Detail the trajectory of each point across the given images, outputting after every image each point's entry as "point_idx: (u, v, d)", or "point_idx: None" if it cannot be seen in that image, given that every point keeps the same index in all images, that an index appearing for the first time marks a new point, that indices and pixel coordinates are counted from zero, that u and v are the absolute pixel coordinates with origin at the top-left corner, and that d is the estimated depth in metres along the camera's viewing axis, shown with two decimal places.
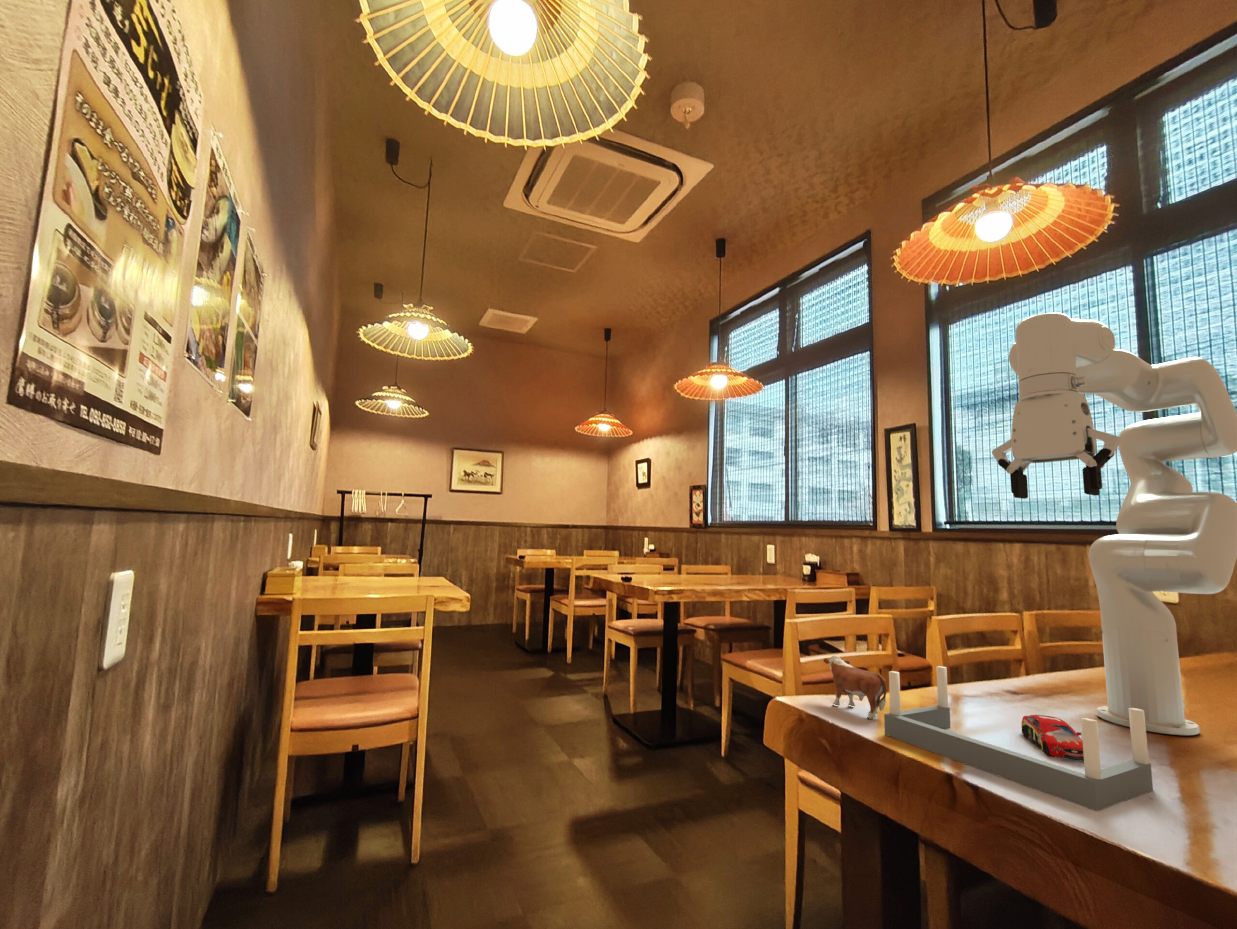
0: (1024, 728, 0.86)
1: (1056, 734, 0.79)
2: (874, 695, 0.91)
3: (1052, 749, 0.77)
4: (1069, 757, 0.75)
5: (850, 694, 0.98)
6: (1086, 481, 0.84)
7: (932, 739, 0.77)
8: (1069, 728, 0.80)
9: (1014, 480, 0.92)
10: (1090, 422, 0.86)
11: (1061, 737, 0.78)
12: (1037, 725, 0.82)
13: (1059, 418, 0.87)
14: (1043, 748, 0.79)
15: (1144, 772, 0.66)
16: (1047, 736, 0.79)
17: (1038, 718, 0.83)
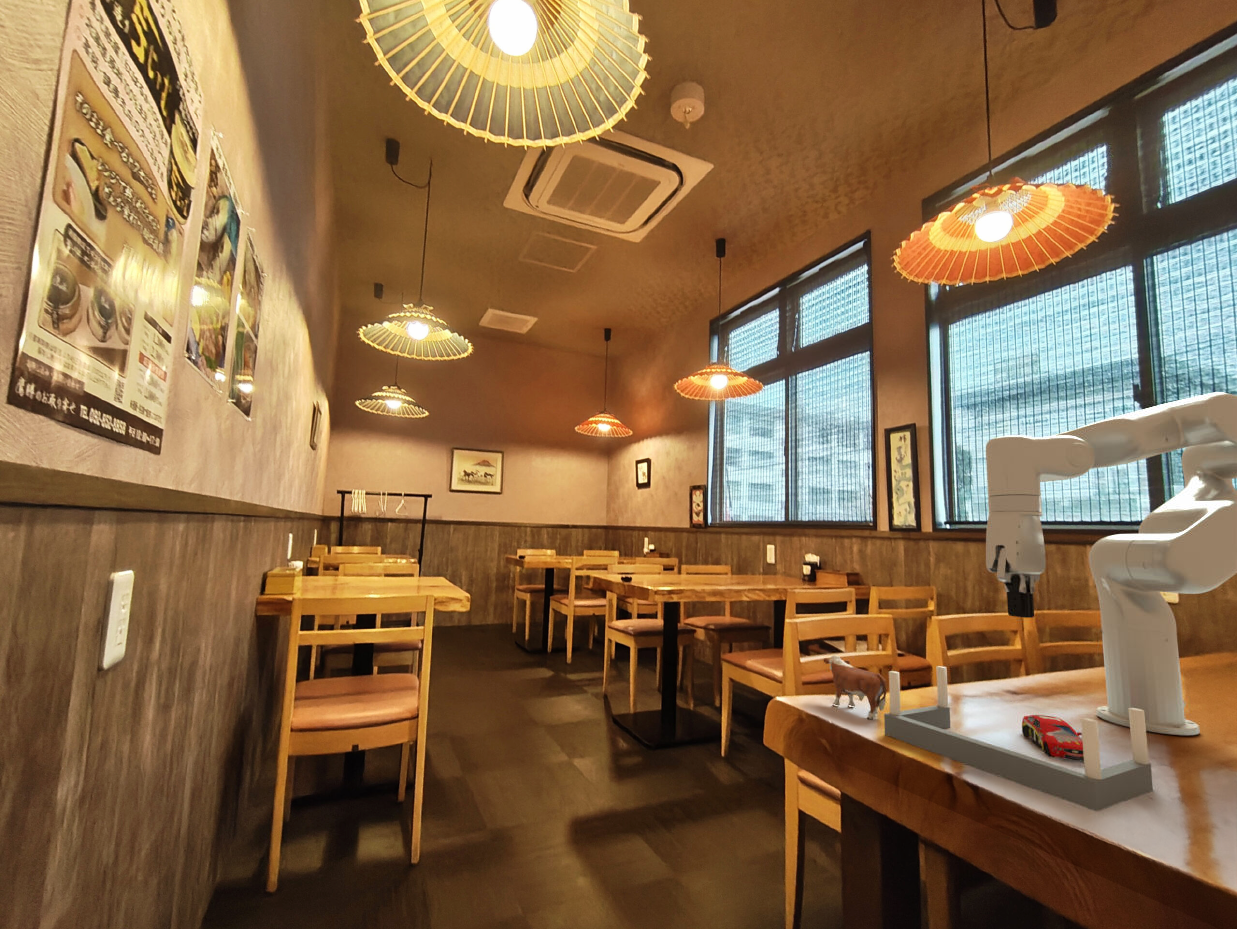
0: (1024, 728, 0.85)
1: (1056, 734, 0.79)
2: (874, 695, 0.91)
3: (1053, 749, 0.77)
4: (1070, 757, 0.75)
5: (850, 694, 0.98)
6: (1032, 606, 0.94)
7: (932, 739, 0.77)
8: (1069, 728, 0.80)
9: (1028, 600, 0.93)
10: None
11: (1062, 737, 0.78)
12: (1037, 725, 0.82)
13: (1037, 538, 0.95)
14: (1044, 748, 0.79)
15: (1144, 772, 0.66)
16: (1048, 736, 0.79)
17: (1038, 718, 0.83)
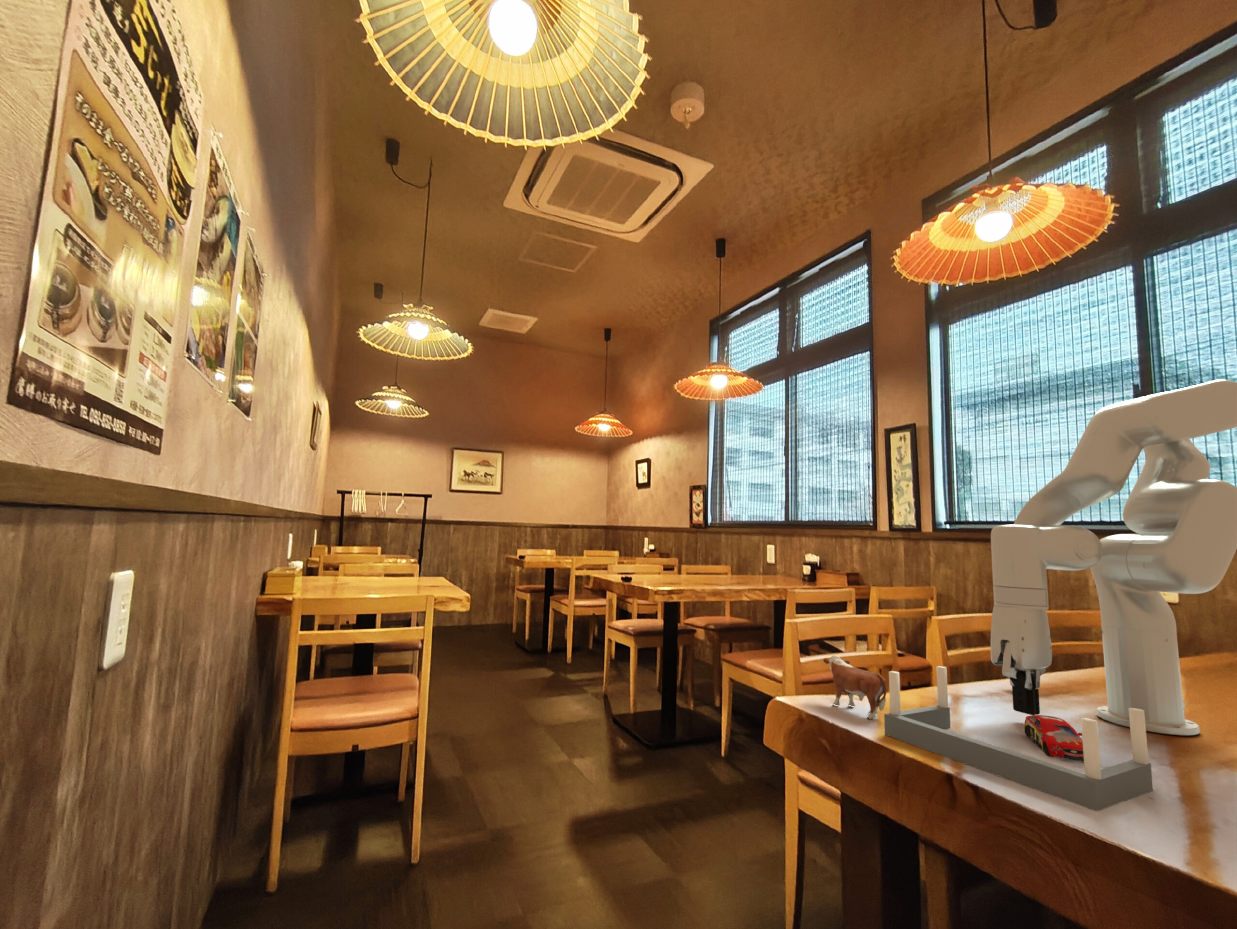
0: (1026, 728, 0.85)
1: (1056, 734, 0.79)
2: (874, 695, 0.91)
3: (1051, 749, 0.77)
4: (1068, 757, 0.75)
5: (850, 694, 0.98)
6: (1038, 702, 0.92)
7: (932, 739, 0.77)
8: (1070, 728, 0.80)
9: (1034, 697, 0.91)
10: None
11: (1061, 737, 0.78)
12: (1038, 725, 0.82)
13: (1044, 632, 0.93)
14: (1043, 748, 0.79)
15: (1144, 772, 0.66)
16: (1047, 736, 0.79)
17: (1040, 718, 0.83)
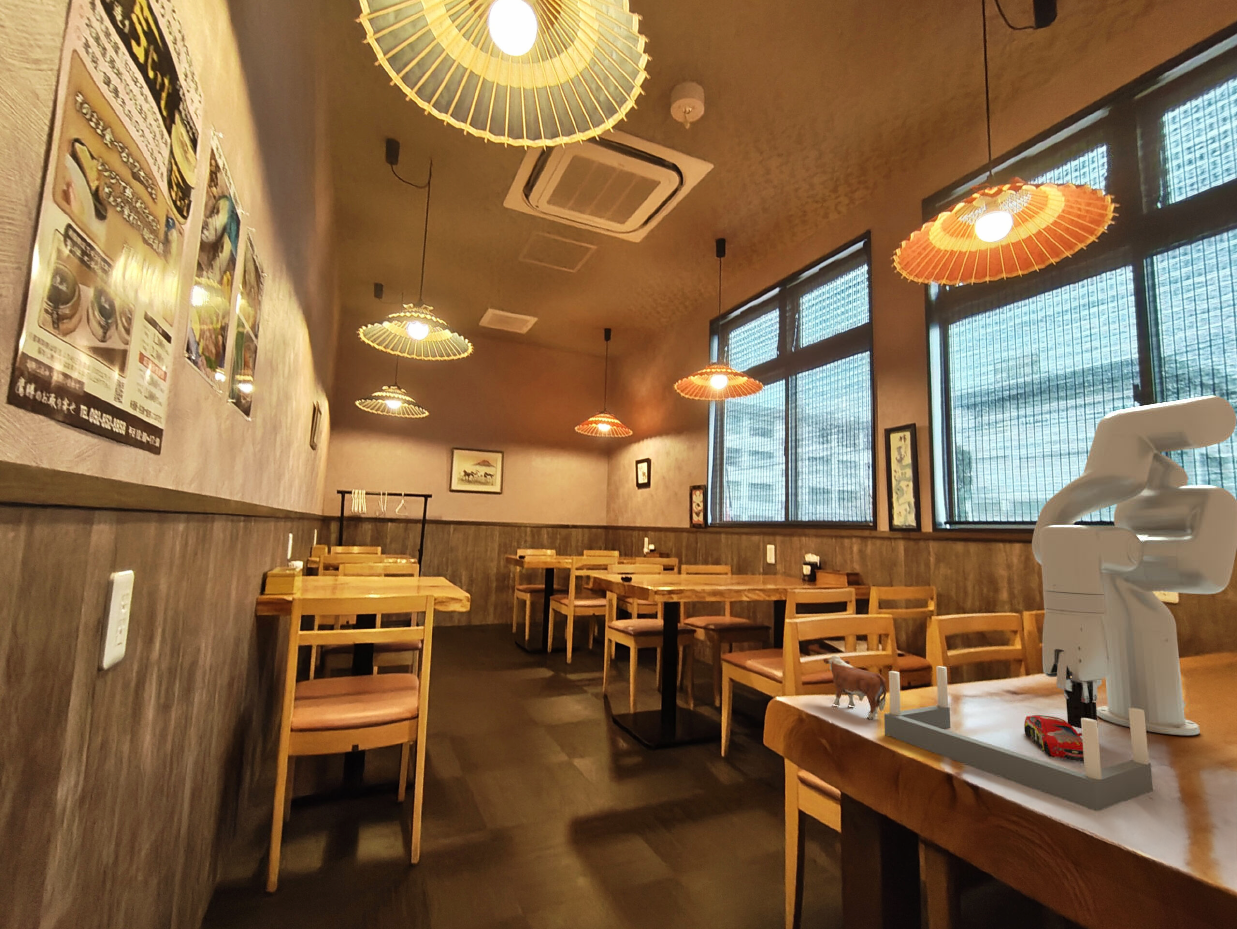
0: (1027, 728, 0.85)
1: (1057, 734, 0.79)
2: (874, 695, 0.91)
3: (1052, 749, 0.77)
4: (1069, 757, 0.75)
5: (850, 694, 0.98)
6: (1095, 717, 0.85)
7: (932, 739, 0.77)
8: (1071, 728, 0.80)
9: (1092, 711, 0.84)
10: None
11: (1062, 737, 0.78)
12: (1039, 725, 0.82)
13: None
14: (1044, 748, 0.79)
15: (1144, 772, 0.66)
16: (1048, 736, 0.79)
17: (1040, 718, 0.83)
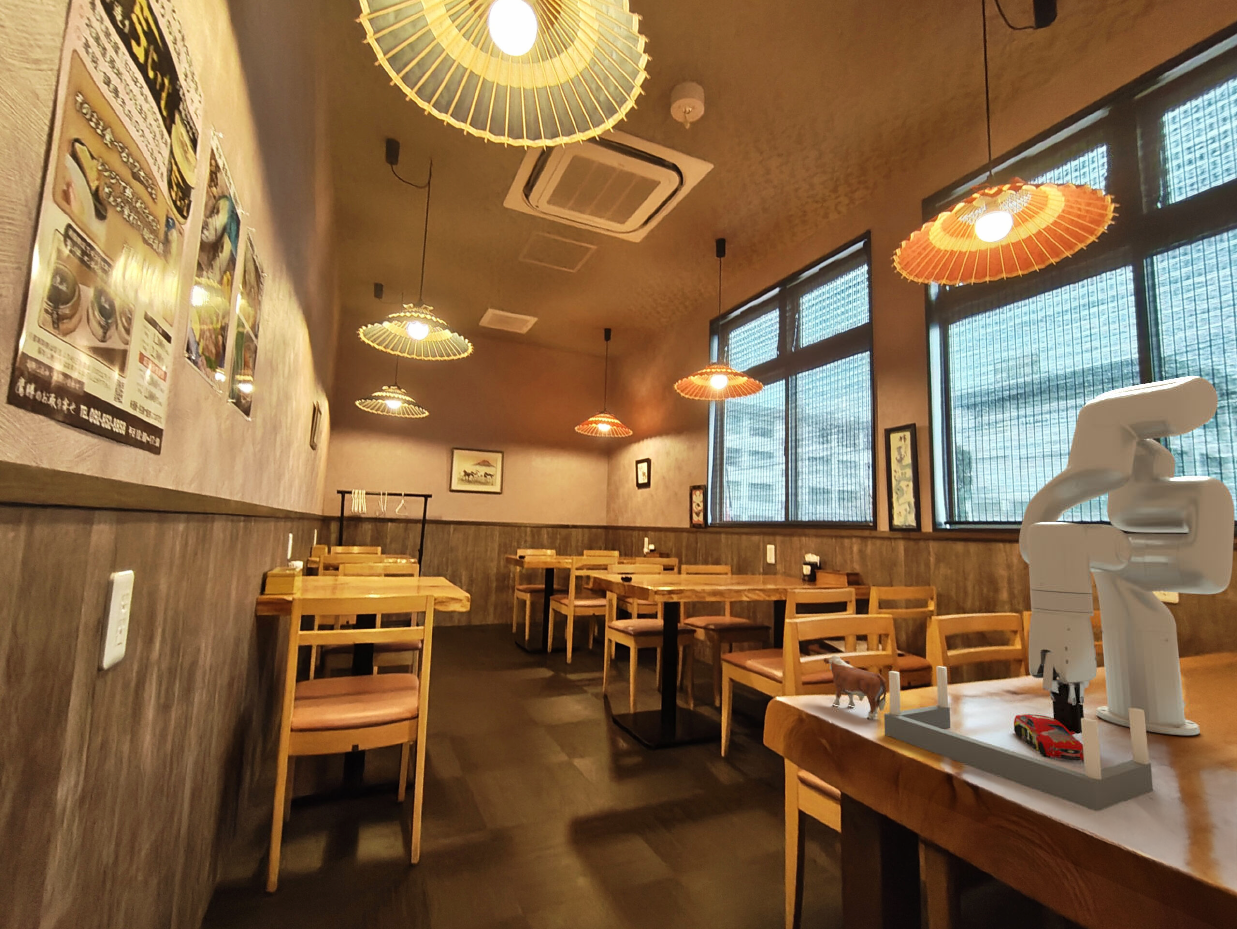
0: (1017, 728, 0.85)
1: (1051, 734, 0.79)
2: (874, 695, 0.91)
3: (1048, 749, 0.76)
4: (1065, 757, 0.75)
5: (850, 694, 0.98)
6: None
7: (932, 739, 0.77)
8: (1063, 727, 0.80)
9: (1079, 714, 0.82)
10: None
11: (1056, 737, 0.78)
12: (1031, 725, 0.81)
13: (1088, 641, 0.84)
14: (1039, 748, 0.79)
15: (1144, 772, 0.66)
16: (1042, 736, 0.78)
17: (1032, 718, 0.82)
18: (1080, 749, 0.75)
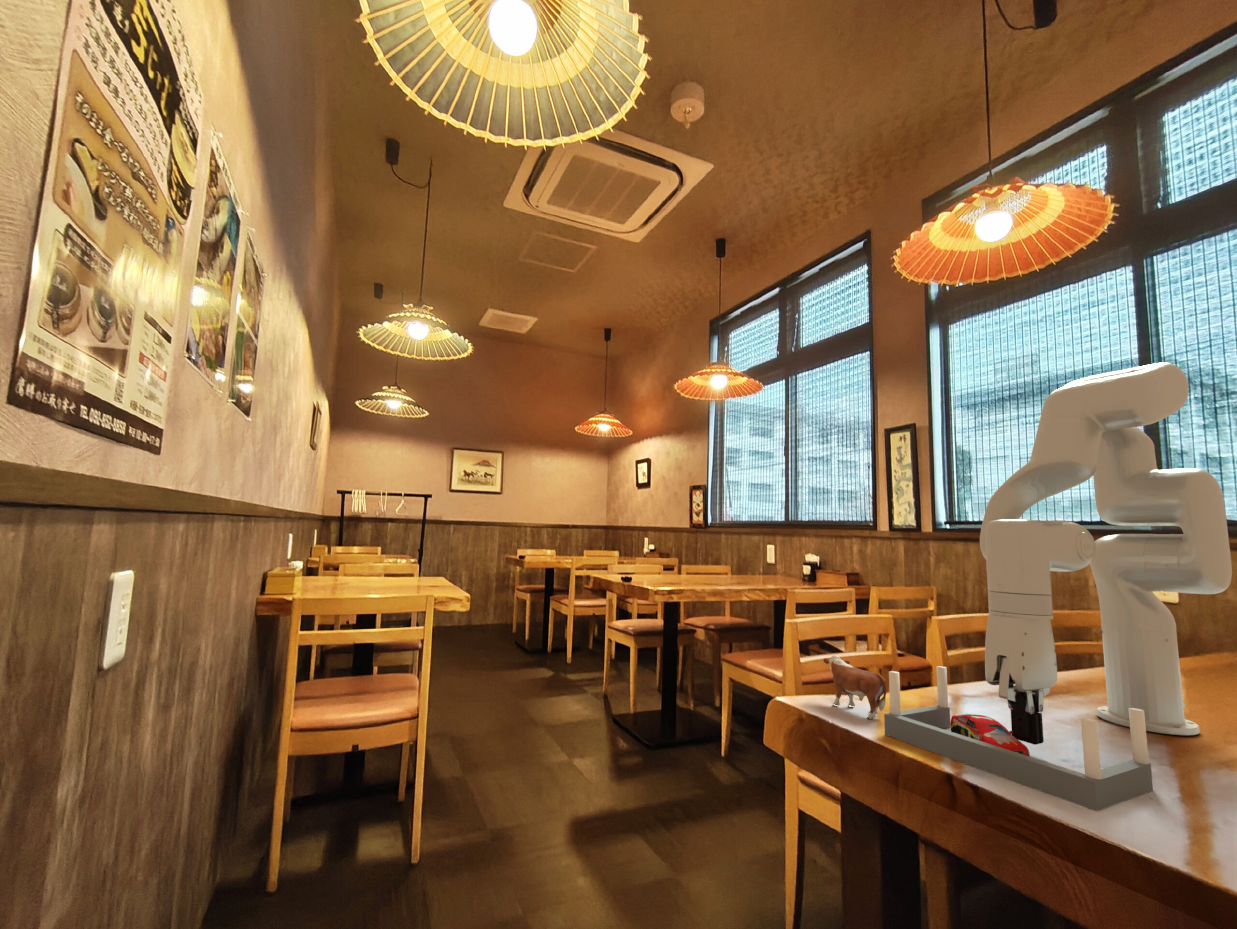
0: (955, 728, 0.84)
1: (993, 735, 0.77)
2: (874, 695, 0.91)
3: None
4: None
5: (850, 694, 0.98)
6: (1041, 729, 0.77)
7: (932, 739, 0.77)
8: (1002, 727, 0.79)
9: (1037, 723, 0.77)
10: None
11: (999, 738, 0.77)
12: (972, 726, 0.80)
13: (1047, 645, 0.79)
14: None
15: (1144, 772, 0.66)
16: (986, 738, 0.77)
17: (972, 718, 0.81)
18: (1023, 750, 0.74)
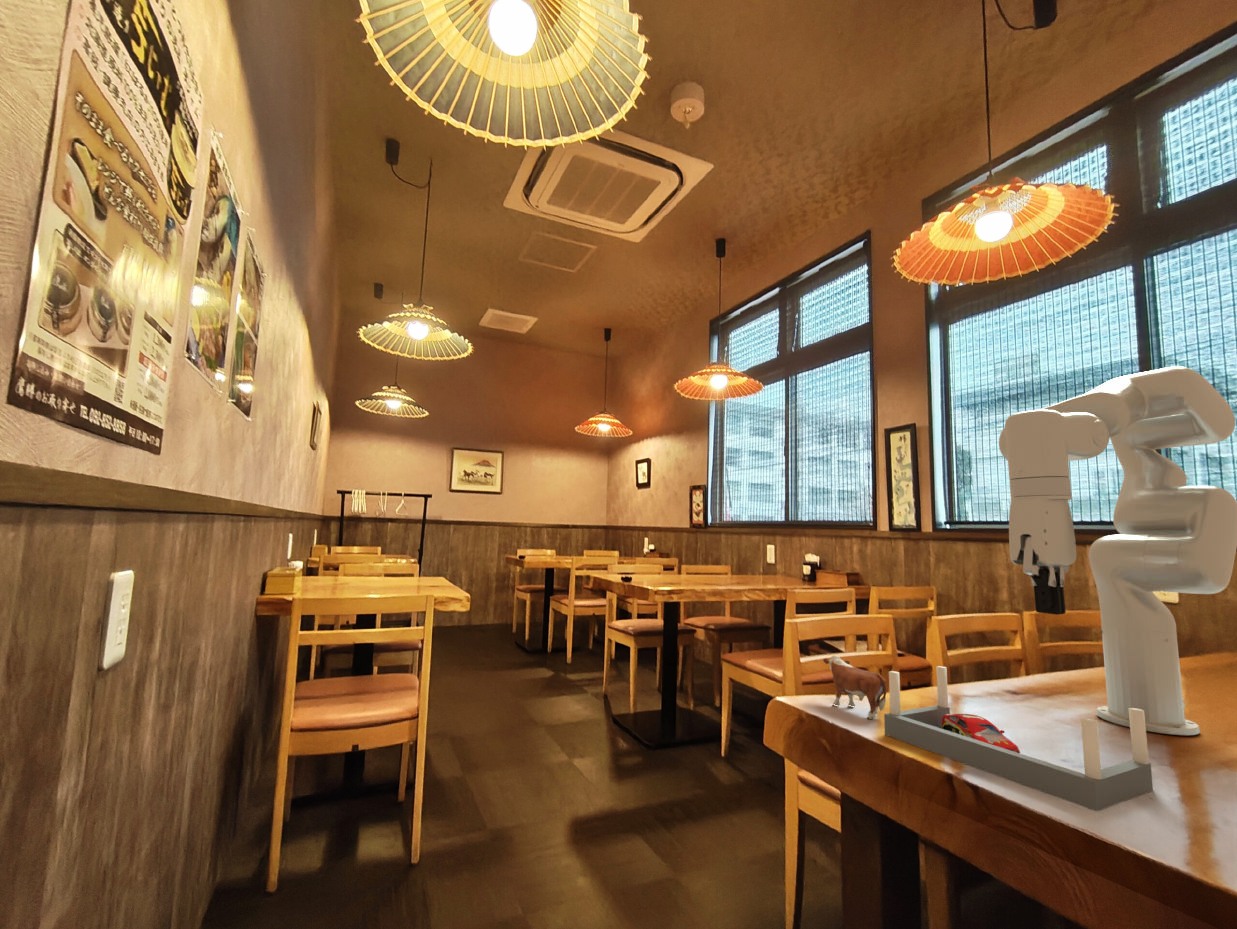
0: (946, 728, 0.84)
1: (984, 734, 0.77)
2: (874, 695, 0.91)
3: None
4: None
5: (850, 694, 0.98)
6: (1063, 601, 0.83)
7: (932, 739, 0.77)
8: (993, 727, 0.79)
9: (1059, 595, 0.83)
10: None
11: (990, 737, 0.77)
12: (963, 725, 0.80)
13: None
14: None
15: (1144, 772, 0.66)
16: (977, 737, 0.77)
17: (963, 718, 0.81)
18: (1014, 749, 0.74)
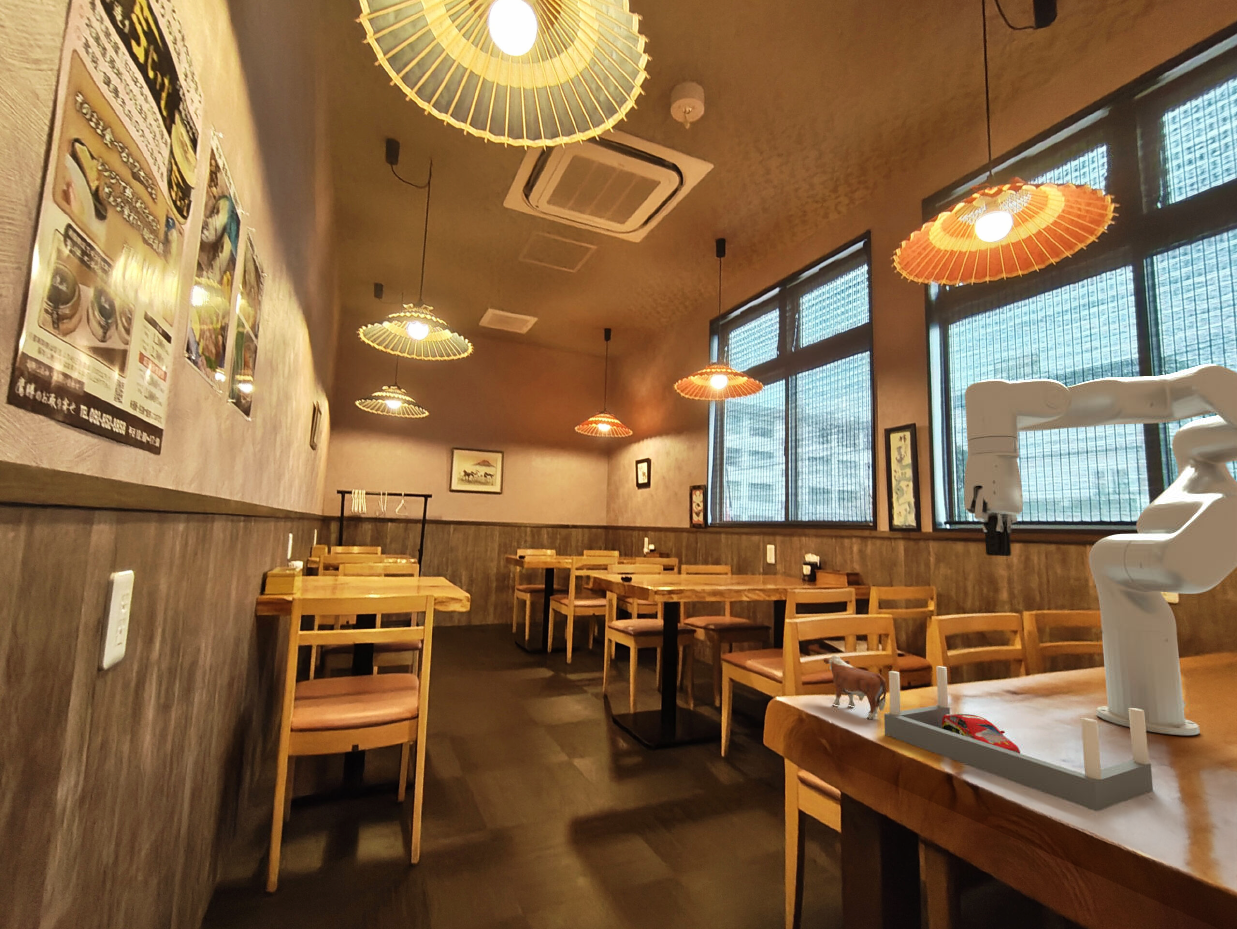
0: (946, 728, 0.84)
1: (985, 734, 0.77)
2: (874, 695, 0.91)
3: None
4: None
5: (850, 694, 0.98)
6: (1009, 545, 0.96)
7: (932, 739, 0.77)
8: (993, 727, 0.79)
9: (1005, 539, 0.96)
10: None
11: (990, 738, 0.76)
12: (964, 726, 0.80)
13: (1015, 480, 0.98)
14: None
15: (1144, 772, 0.66)
16: (977, 737, 0.77)
17: (963, 718, 0.81)
18: (1014, 749, 0.74)
